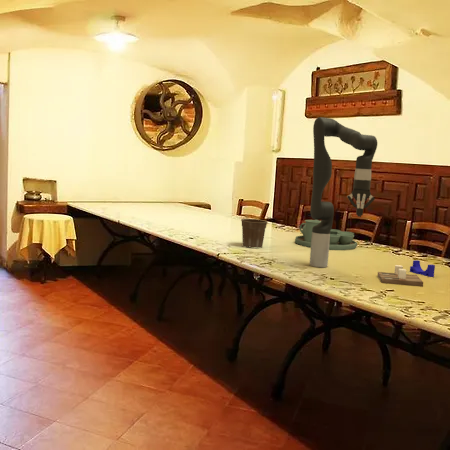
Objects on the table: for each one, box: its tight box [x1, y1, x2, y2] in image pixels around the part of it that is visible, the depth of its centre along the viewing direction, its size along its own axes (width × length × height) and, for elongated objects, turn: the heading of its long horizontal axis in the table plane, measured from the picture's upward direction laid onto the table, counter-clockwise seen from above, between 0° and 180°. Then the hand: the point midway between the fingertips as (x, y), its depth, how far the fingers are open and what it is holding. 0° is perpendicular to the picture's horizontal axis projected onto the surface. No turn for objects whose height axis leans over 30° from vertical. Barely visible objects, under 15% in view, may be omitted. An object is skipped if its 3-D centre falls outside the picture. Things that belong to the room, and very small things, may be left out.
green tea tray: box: [294, 219, 358, 251], centre depth 336 cm, size 40×40×16 cm
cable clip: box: [409, 259, 436, 278], centre depth 259 cm, size 12×4×6 cm, turn 21°
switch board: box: [376, 271, 424, 287], centre depth 240 cm, size 15×18×2 cm
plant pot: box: [240, 218, 269, 248], centre depth 313 cm, size 16×16×16 cm
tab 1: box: [394, 264, 404, 275], centre depth 244 cm, size 3×3×4 cm
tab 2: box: [398, 268, 407, 279], centre depth 235 cm, size 3×3×4 cm
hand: (359, 216), depth 238 cm, fingers closed
